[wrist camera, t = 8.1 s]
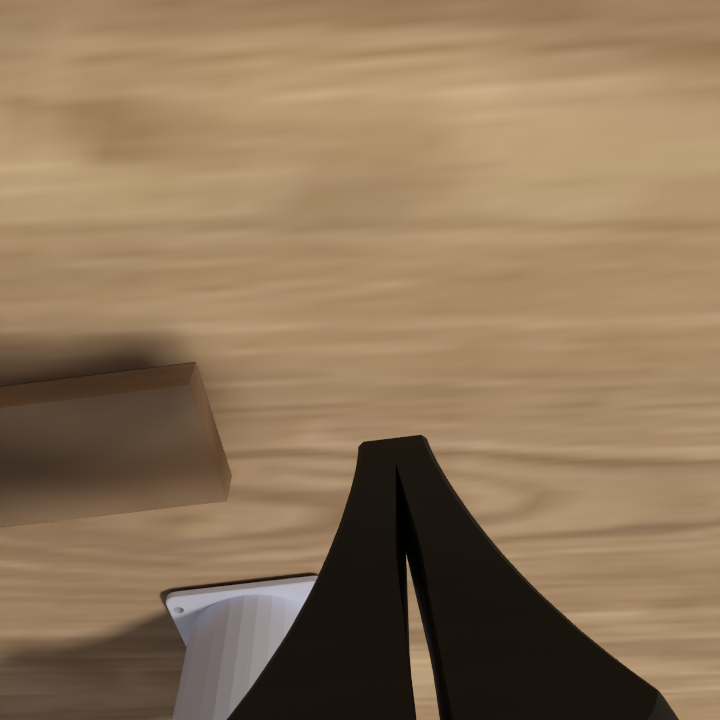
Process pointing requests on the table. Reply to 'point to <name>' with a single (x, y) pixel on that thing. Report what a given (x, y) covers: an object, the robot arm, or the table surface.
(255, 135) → the table surface
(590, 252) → the table surface
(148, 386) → the track
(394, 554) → the robot arm
